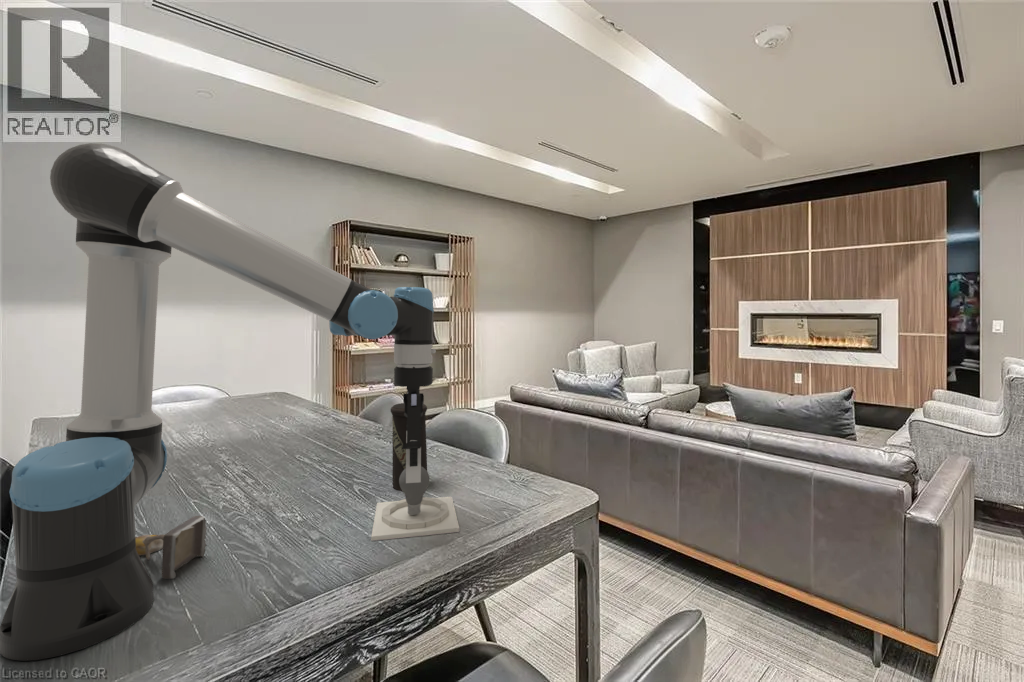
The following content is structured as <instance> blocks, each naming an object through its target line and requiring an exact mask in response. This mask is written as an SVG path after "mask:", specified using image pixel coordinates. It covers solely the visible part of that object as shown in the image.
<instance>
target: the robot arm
mask: <svg viewBox="0 0 1024 682" xmlns="http://www.w3.org/2000/svg"><path fill="white" fill-rule="evenodd" d="M49 179H50V187H51V190H52V194H53V195H54V197H55V199H56V200H57V202H58V203H59V204H60V206H61V207H62V208H63V209H64V211H66V212H67V213H69V214H70V215H71V217H73V218H75V219H76V230H75V245H76V246H77V247H78V248H79V249H80V250H81V251H82V252H83V253H85V254H86V256H87V258H88V265H87V266H88V268H87V286H86V304H85V305H86V307H85V324H84V325H85V326H84V327H85V328H84V329H85V330H84V345H83V347H84V348H83V363H82V364H83V366H82V384H81V385H82V387H81V388H82V389H81V405H80V406H81V407H80V408H81V409H80V413H79V414H78V416H77V417H75V418H74V419H73V420H71V421H70V422H68V423H67V424H66V433H65V434H66V436H65V441H61V442H58V443H55V444H54V445H52V446H51V445H49V446H48V445H47V446H44V447H41V448H39V449H35V450H34V451H32V452H30V453H28V454H26V455H25V456H23V457H22V458H20V460H18V461H17V462H16V463H15V465H14V466H13V469H12V472H11V482H10V483H11V484H10V488H9V493H8V494H9V498H10V501H11V510H12V526H13V527H12V528H13V542H14V555H15V557H14V558H15V570H16V571H15V572H16V573H15V574H16V581H15V585H14V588H13V591H12V594H11V596H10V598H9V602H8V604H7V606H6V609H5V612H4V615H3V618H2V620H1V623H0V655H1V656H2V657H3V658H5V659H8V660H11V661H22V662H23V661H26V662H27V661H38V660H45V659H51V658H54V657H59V656H62V655H63V656H65V655H67V654H71V653H73V652H74V653H75V652H76V651H77V652H78V651H80V650H83V649H85V648H88V647H90V646H94V645H95V644H98V643H100V642H102V641H105V640H107V639H109V638H111V637H113V636H115V635H117V634H119V633H121V632H122V631H124V630H126V629H127V628H130V627H131V626H132V625H133V624H135V623H136V622H138V621H139V620H140V619H141V618H142V617H144V616H145V614H147V613H148V612H149V611H150V609H151V608H152V606H153V604H154V601H155V596H154V584H153V581H152V578H151V577H150V574H149V573H148V570H147V569H146V567H145V565H144V563H143V561H142V559H141V556H139V555H138V553H137V551H136V540H135V537H136V517H135V514H136V513H135V506H136V505H137V504H138V503H139V502H140V501H141V500H142V499H143V498H144V497H145V495H146V494H148V493H149V491H151V490H152V489H153V488H154V486H156V484H157V483H158V482H159V480H160V479H161V478H162V476H163V473H164V472H165V469H166V466H167V460H168V451H167V446H166V444H165V442H164V440H163V439H162V433H163V419H162V418H161V417H160V416H159V415H157V414H156V413H155V412H154V411H153V409H152V406H153V405H152V404H153V388H154V387H153V386H154V368H155V349H156V348H155V347H156V331H157V330H156V329H157V311H158V310H157V309H158V292H159V291H158V290H159V274H160V272H159V271H160V266H161V264H163V263H164V262H165V261H167V260H169V258H171V257H172V248H173V249H175V250H177V251H179V252H181V253H183V254H186V255H188V256H190V257H193V258H194V259H196V260H198V261H201V262H203V263H204V264H207V265H209V266H211V267H212V268H213V267H214V268H216V269H217V270H220V271H222V272H224V273H227V274H228V275H231V276H233V277H235V278H237V279H239V280H241V281H244V282H246V283H248V284H250V285H252V286H254V287H256V288H259V289H261V290H263V291H265V292H267V293H270V294H272V295H273V296H276V297H278V298H280V299H282V300H284V301H287V302H289V303H291V304H293V305H295V306H297V307H299V308H301V309H303V310H306V311H308V312H310V313H312V314H314V315H317V316H319V317H321V318H323V319H325V320H327V321H328V324H329V325H328V326H329V332H330V333H331V334H332V335H334V336H344V337H350V336H353V337H354V336H355V337H358V336H360V337H362V338H364V339H366V340H376V339H380V338H383V337H385V336H388V337H389V336H393V337H394V343H393V363H394V364H395V365H396V366H395V368H394V370H393V372H394V373H393V375H394V377H393V380H394V381H393V382H394V383H393V384H394V385H395V386H396V387H397V386H398V387H402V388H406V393H403V402H402V403H403V404H404V405H405V417H407V421H406V423H407V426H406V428H407V431H406V444H403V449H406V483H418V482H421V445H422V443H421V429H422V424H421V416H422V414H423V404H425V402H424V401H425V397H424V396H425V395H424V393H423V392H422V393H420V389H421V387H428V386H431V385H432V384H434V383H433V380H434V379H433V378H434V375H433V374H434V371H433V370H434V368H433V367H432V364H433V354H436V353H437V351H436V350H437V349H436V348H433V343H434V342H433V340H434V339H433V337H434V328H433V327H434V313H435V312H434V297H433V296H434V295H433V291H431V289H429V288H426V287H420V286H419V287H418V286H412V287H411V286H401V287H400V286H398V287H396V288H395V290H394V294H393V296H389V295H387V294H386V293H384V292H382V291H379V290H376V289H370V288H369V287H366V286H365V285H363V284H361V283H359V282H357V281H354V280H352V279H351V278H350V277H348V276H346V275H344V274H341V273H339V271H335V270H334V269H333V268H330V267H328V266H326V265H324V264H323V263H320V262H319V261H317V260H314V259H312V258H310V257H309V256H307V255H305V254H303V253H301V252H299V251H297V250H295V249H293V248H292V247H289V246H287V245H285V244H283V243H282V242H279V241H278V240H275V239H273V238H272V237H270V236H268V235H266V234H265V233H262V232H260V231H258V230H257V229H254V228H253V227H251V226H249V225H247V224H245V223H243V222H241V221H239V220H237V219H235V218H233V217H231V216H229V215H227V214H225V213H224V212H221V211H220V210H217V209H216V208H214V207H212V206H210V205H208V204H206V203H204V202H203V201H199V200H198V199H196V198H194V197H192V196H190V195H188V194H186V193H185V192H184V190H183V187H182V185H181V183H180V182H179V181H177V180H176V179H174V178H172V177H170V176H168V175H166V174H164V173H162V172H161V171H159V170H157V169H155V168H154V167H152V166H151V165H149V164H147V163H146V162H144V161H143V160H141V159H140V158H138V157H137V156H135V155H133V154H132V153H130V152H129V151H127V150H124V149H122V148H120V147H118V146H115V145H111V144H105V143H95V142H93V143H82V144H78V145H75V146H72V147H70V148H68V149H66V150H65V151H64V152H62V153H61V154H60V155H58V157H56V159H55V161H54V162H53V164H52V167H51V169H50V174H49Z"/></svg>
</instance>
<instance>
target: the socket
mask: <svg viewBox="0 0 1024 682" xmlns="http://www.w3.org/2000/svg"><path fill="white" fill-rule="evenodd" d="M420 507H421V512H420V513H419V514H417V515H410V514H408V503H407V502H406V498H404V499H400V500H396V501H395V500H394V501H385V502H381V501H380V502H377V503H376V506H375V513H374V520H373V524H372V529H371V536H370V539H371V542H372V541H374V542H375V541H382V540H383V541H384V540H393V539H402V538H413V537H422V536H423V537H424V536H431V535H432V536H433V535H443V534H452V533H454V534H455V533H460V524H459V522H458V517H457V514H456V513H457V512H456V509H455V505H454V501H453V497H452V496H442V497H441V496H440V497H427V496H423V499H422V502H421V506H420Z"/></svg>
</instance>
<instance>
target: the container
mask: <svg viewBox="0 0 1024 682" xmlns="http://www.w3.org/2000/svg"><path fill="white" fill-rule="evenodd" d="M427 411H428V406H427V405H426V404H425V403H424V404H423V414H422V416H421V424H422V429H421V443H422V445H421V466H422V467H423V468H424V469H425V470H426V471H427V472H428V458H427V455H428V454H427V451H428V450H427V449H428V447H427V430H426V429H427V427H426V426H427V425H426V423H427V419H426V413H427ZM390 413H391V416H392V417H391V420H392V423H391V424H392V425H391V426H392V432H391V433H392V467H391V468H392V476H391V477H392V487H393V489H395V490H398V491H402V489H401V488H400V484H399V478H400V475H401V473H402V472H403V470H404V469H405V468H406V449H403V444H406V431H407V428H406V426H407V423H406V421H407V417H405V405H404V404H403V402H402V403H397V404H394V405H393V406H391V408H390Z"/></svg>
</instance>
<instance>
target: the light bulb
mask: <svg viewBox="0 0 1024 682" xmlns="http://www.w3.org/2000/svg"><path fill="white" fill-rule="evenodd" d="M430 480H431V479H430V475H429V472H428V470H427V471H426V470H425V469H424V468H423V467H422V466H421V482H418V483H406V468H405V469H404V470H403V472H402V473H401V475H400V478H399V484H400V488H401V489H402V490H401V492H402V493H403V495H404V496H405V499H406V502H407V503H408V514H410V515H417V514H419V513H420V512H421V507H420V506H421V502H422V499H423V497H424V494H425V493H426V491H427V489H428V487H429V485H430Z"/></svg>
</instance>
